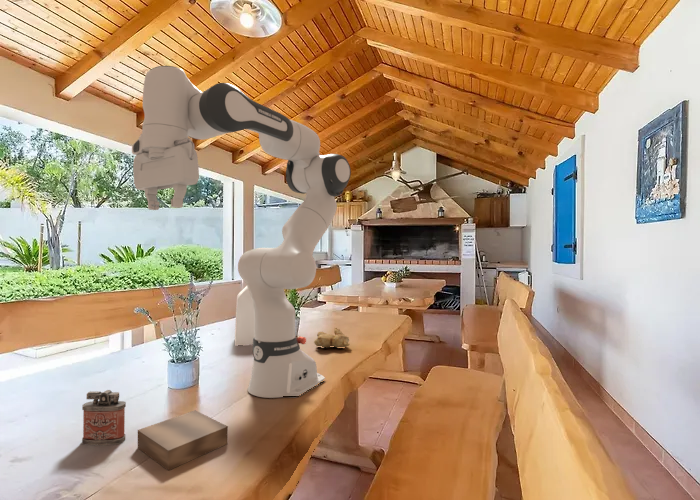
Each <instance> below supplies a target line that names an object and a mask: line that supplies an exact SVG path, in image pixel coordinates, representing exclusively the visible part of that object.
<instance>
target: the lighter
mask: <svg viewBox="0 0 700 500" xmlns="http://www.w3.org/2000/svg"><path fill="white" fill-rule="evenodd" d="M86 400H92V401H88V402H85V403H83V404H82V411H83V420H82V421H83V427H82V428H83V429H82V430H83V432H82V433H83V434H82V435H83V437H82V438H81V444H82V445H87V446H109V445H119V444H122V443H125V441H126V434H125V422H126V421H125V420H126V419H125V418H126V417H125V413H126V412H125V411H126V403H127V402H126V401H123V400H120V392H119V391H118V392H117V391H115V392H114V391H113V392H112V390H111V389H107V390H104V391H102V392H101V391H97V390H96V391H91V390H90V391H88V392H87V393H86Z"/></svg>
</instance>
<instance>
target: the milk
mask: <svg viewBox="0 0 700 500" xmlns="http://www.w3.org/2000/svg"><path fill="white" fill-rule="evenodd" d="M235 304H236V305H235V306H236V308H235V324H234V325H235V327H234V328H235V329H234V330H235V331H234V345H235V346H236V347H239V346H238V345H243V346H250V345H249V344H253V338H254V337H255V318H254V307H253V302H252V298H251V295H250V292H249V289H248V287H247V285H246V286H245V287H244V288H243V289H242V290H240V291H239V292H238V293H237V295H236V303H235Z"/></svg>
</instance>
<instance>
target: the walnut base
mask: <svg viewBox="0 0 700 500" xmlns="http://www.w3.org/2000/svg"><path fill="white" fill-rule="evenodd" d="M228 433H229V430H228V426H227V425H226V424H224V423H222V422H220V421H217V420H216V419H214V418H212V417H209V416H208V415H207V414H206V415H205V414H203V413H202V412H200V411H198V410H191V411H189V412H186V413H183V414H180V415H178V416H174V417H172V418H169V419H166V420H163V421H160V422H157V423H154V424H151V425H148V426H145V427H142V428H140V429H137V449H138V450H140V451H141V452H143V453H144V454H145V455H146V456H147V457H149V458H151V459H152V460H154V462H156V463H157V464H159V465H160V466H162V467H163V468H164V469H166V471H170V470H172V469H175V468H176V467H179V466H181V465H184V464H186V463H188V462H191V461H192V460H195V459H197V458H200V457H201V456H204V455H207V454H208V453H211V452H213V451H215V450H217V449H219V448H221V447H224V446H226V445H227V444H228V442H229V441H228V435H229V434H228Z"/></svg>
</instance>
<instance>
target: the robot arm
mask: <svg viewBox="0 0 700 500" xmlns="http://www.w3.org/2000/svg"><path fill="white" fill-rule="evenodd" d="M143 82H144V83H143V88H142V89H143V90H142V91H143V92H142V109H143V114H144V120H143V123H142V133H141V134H140V135H139V137H138V139H137V140H136V141H135V142H134V143H133V144H132V146H131V153H132V155H135V157H133V163H132V164H133V167H132V168H133V169H132V171H133V184H134V187H135V189H136V190H138V191H144V196H145V198H146V201H147V209H148V210H151V211H158V210H159V209H160V202H159V201H158V198H157V197H158V190H159V191H160V190H166V189H167V190H168V189H172V190H174V193H173V197H172V198H170V206H171V208H172V209H180V208H181V209H182V208H183V207H184V199H185V196H186V193H187V187H188V186H192V185H197V184H198V182H199V179H200V169H199V159H198V158H199V157H198V154H197V153H198V152H197V151H196V149H195V143H194V142H193V140H192V139H195V140H199V141H200V140H202V141H203V140H208V139H212V138H216V137H218V136H222V135H226V134H230V133H235V132H240V131H242V130H243V131H244V130H247V131H248V130H249V131H250V132H251V131H252V132H253V133H257V134H258V140H259V145H260V147H261V149H262V150H263V152H264V153H265V154H267V155H269V156H271V157H274V158H277V159H281V160H287V163H286V169H285V181H286V184H287V187H289V189H290V190H291V191H292V192H295V193H297V194H301V195H304V194H306V195H305V198H304V200H303V201H302V202H301V203H300V205H298V207H297V208H296V209H295V210H294V212H293V213H292V214H291V216H290V217H289V218H288V219H287V221H286V222H285V223H284V224H283V225H282V229H281V234H282V237H283V240H282V242H281V244H280V245H278V246H276V247H258V248H257V247H256V248H253V249H249V250H247V251H245V252H244V253H243V254H241V256H240V258H239V259H238V264H237V271H238V274H239V277H240V278H241V280H243V281H244V283H245V285H246V286H247V287H248V289H249V292H250V295H251V298H252V302H253V307H254V318H255V337H254V338H253V345H252V355H253V356H252V357H253V361H252V362H253V363H252V370H251V374H250V375H251V376H250V380H249V385H248V388H247V391H248V393H249V394H251V395H252V396H256V397H258V398H265V399H266V398H269V399H272V398H273V399H275V398H277V399H278V398H284V397H283V396H299V395H300V394H302V393H304V392H306V391H307V390H309V389H311V388H312V387H314V386H315V385H317V384H318V383H320V382H321V381H323V380H324V379H325V380H326V377H325V376H324V375H322V374H320V373H319V372H318V369H317V362H316V361H315V359H314V358H313V357H312V356H310V355H309V354H307V353H306V352H305V351H303V350H302V349H301V348H300V344H301V345H305V344H306V343H307V337H305V336H301V335H300V336H298V337H297V336H296V309H295V307H294V305H293V304H292V303H291V302H290V301H289V300H288V298H287V296H286V293H285V290H296V289H297V290H298V289H302V288H306V287H308V286H310V285H311V284H312V283H313V281H314V280H315V277H316V274H317V264H316V261H315V258H314V257H313V255H314V254H313V253H314V251H315V248H316V247H317V245H318V244H319V242H320V240H321V239H322V237H323V236H324V234H325V233H326V232H327V230H328V228H329V227H330V225H331V223H332V222H333V219H334V218H335V215H336V212H337V209H338V204H337V201H336V199H335V197H339V196H341V194H343V192H344V189H345V188H346V187H347V185H348V183H349V181H350V178H351V174H352V172H351V171H352V169H351V166H350V163H349V161H348V159H347V158H346V157H345V156H343V155H342V154H338V153H330V154H329V153H328V154H324V155H323V154H321V153H320V149H321V140H320V137H319V135H318V134H317V132H315V131H314V129H311V128H310V127H308V126H306V125H304V124H303V123H301V122H297V121H295V120H293V119H290V118H289V117H287V116H285V115H284V114H282V113H281V112H280V113H279V112H278V111H276V110H274V109H271V108H269V107H267V106H265V105H263V104H261V103H258V102H256V101H255V100H253V99H251V98H250V97H249V96H248V95H246V94H245V93H244V92H243V91H241V89H240V88H238V87H236V86H235V85H233V84H230V83H227V82H219V83H215V84H213V85H212V86H211V87H209V88H207V89H206V90H204V91H201V90H199V89H198V88H197V87H196V86H195V85H194V84H193V83H192V82H191V81H190V79H189V78H188V77H187V74H186V73H185V70H183V69H182V68H179V67H177V66H173V65H159V66H156V67H153V68H151V69H149V70H148V71H147V72H146V74H145V77H144V81H143ZM190 138H192V139H190ZM317 386H318V385H317ZM314 388H315V387H314ZM312 389H313V388H312ZM312 389H311V390H312ZM309 391H310V390H309ZM307 392H308V391H307ZM307 392H306V393H307ZM304 394H305V393H304ZM302 395H303V394H302ZM300 396H301V395H300ZM300 396H299V397H300Z"/></svg>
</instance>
